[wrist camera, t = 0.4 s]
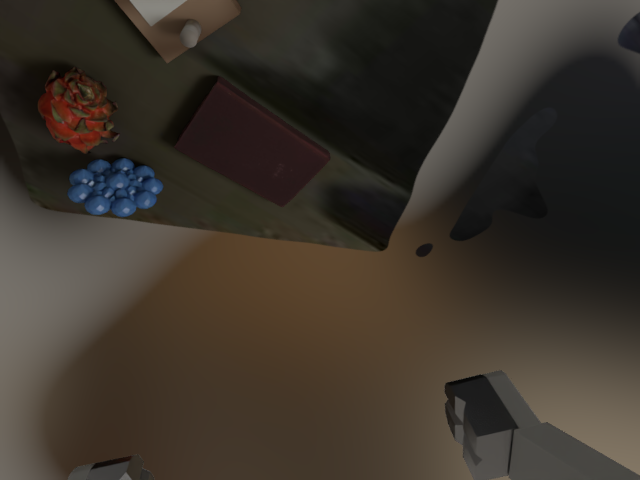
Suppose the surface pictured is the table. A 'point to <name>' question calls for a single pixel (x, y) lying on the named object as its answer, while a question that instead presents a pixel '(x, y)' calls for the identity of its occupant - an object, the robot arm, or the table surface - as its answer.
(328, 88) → the table surface
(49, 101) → the dragon fruit
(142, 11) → the pin seat
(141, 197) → the grapes
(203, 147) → the book
